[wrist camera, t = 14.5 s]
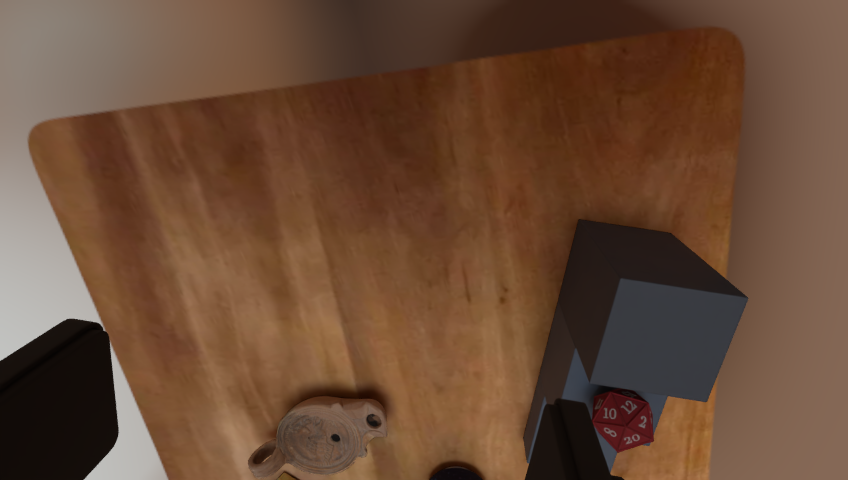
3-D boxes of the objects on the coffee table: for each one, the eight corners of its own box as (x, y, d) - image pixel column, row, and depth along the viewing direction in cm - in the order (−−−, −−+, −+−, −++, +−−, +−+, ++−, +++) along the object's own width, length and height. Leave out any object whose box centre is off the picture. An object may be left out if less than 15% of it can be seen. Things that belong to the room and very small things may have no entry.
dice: (599, 431, 35) (615, 474, 32) (576, 382, 34) (589, 422, 30) (651, 413, 35) (674, 456, 31) (629, 363, 33) (649, 401, 30)
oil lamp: (376, 368, 43) (365, 405, 39) (406, 434, 46) (399, 476, 41) (247, 403, 46) (222, 441, 41) (281, 464, 48) (261, 507, 43)
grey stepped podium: (578, 218, 37) (620, 278, 27) (671, 232, 37) (749, 298, 27) (522, 438, 45) (539, 550, 34) (600, 451, 44) (640, 568, 34)
